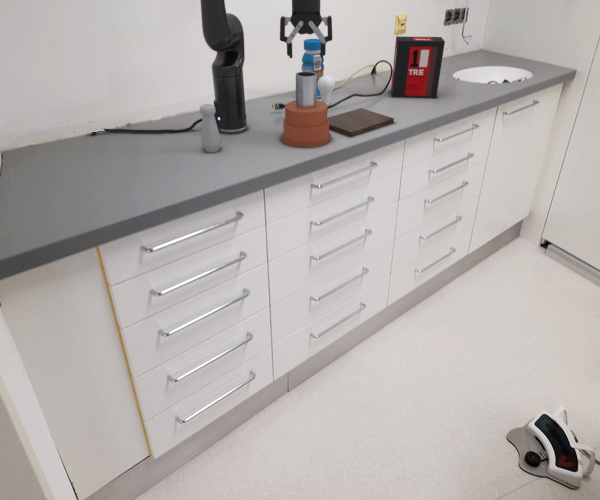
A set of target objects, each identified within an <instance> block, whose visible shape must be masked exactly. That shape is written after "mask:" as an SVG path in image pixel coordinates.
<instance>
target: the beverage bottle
mask: <svg viewBox="0 0 600 500" xmlns="http://www.w3.org/2000/svg"><path fill="white" fill-rule="evenodd" d="M320 49H321V41H320V40H319V38H306V39H304V40H303V50H304V53H303V55H302V56H301V62H302V64H301V72H315V73H317V84H318V80H319V79H320V78H321V77H322V76H324V71H325V65H324V61H325V59H324V57H323V58H320ZM317 99H321V93H320V91H319V89H318V86H317Z"/></svg>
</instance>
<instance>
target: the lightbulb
mask: <svg viewBox="0 0 600 500" xmlns="http://www.w3.org/2000/svg"><path fill="white" fill-rule="evenodd" d="M317 86H318V89H319V91H320V93H321V97H320V99H321V102H324V103H326V104H327V105H328V107H329V106H330V100H331V95H332V93H333V91H334V89H335V86H336V84H335V80H334V78H333V77H332V76H330V75H327V74H325V75H323V76H322V77H321V78H320V79H319V80H318V84H317Z"/></svg>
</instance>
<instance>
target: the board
mask: <svg viewBox="0 0 600 500" xmlns="http://www.w3.org/2000/svg"><path fill="white" fill-rule="evenodd" d="M327 118H328V119H329V130H330V131H335V132H337V133H340V134H342V135H345V136H348V137H354V136H358V135H361V134H364V133H366V132H370V131H373V130H377V129H379V128H383V127H385V126H388V125H391V124H394V122H395V117H391V116H388V115H385V114H381V113H379V112H375V111H372V110H368V109H366V108H362V107H360V108H356V109H353V110H349V111H346V112H341V113H339V114H335V115H332V116H327Z"/></svg>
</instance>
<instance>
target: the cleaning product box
mask: <svg viewBox="0 0 600 500" xmlns="http://www.w3.org/2000/svg"><path fill="white" fill-rule="evenodd" d="M445 43H446V41H445V40H444V38H443V37H442V36H395V46H394V54H393V55H394V56H393V65H392V75H391V85H390V93H391V97H392V98H407V99H409V98H411V99H437V96H438V89H439V83H440V78H441V77H440V76H441V71H442V70H441V69H442V63H443V56H444V50H445Z"/></svg>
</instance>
